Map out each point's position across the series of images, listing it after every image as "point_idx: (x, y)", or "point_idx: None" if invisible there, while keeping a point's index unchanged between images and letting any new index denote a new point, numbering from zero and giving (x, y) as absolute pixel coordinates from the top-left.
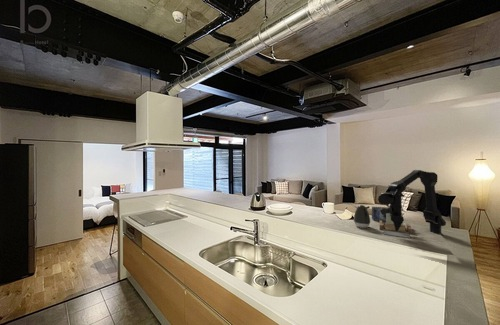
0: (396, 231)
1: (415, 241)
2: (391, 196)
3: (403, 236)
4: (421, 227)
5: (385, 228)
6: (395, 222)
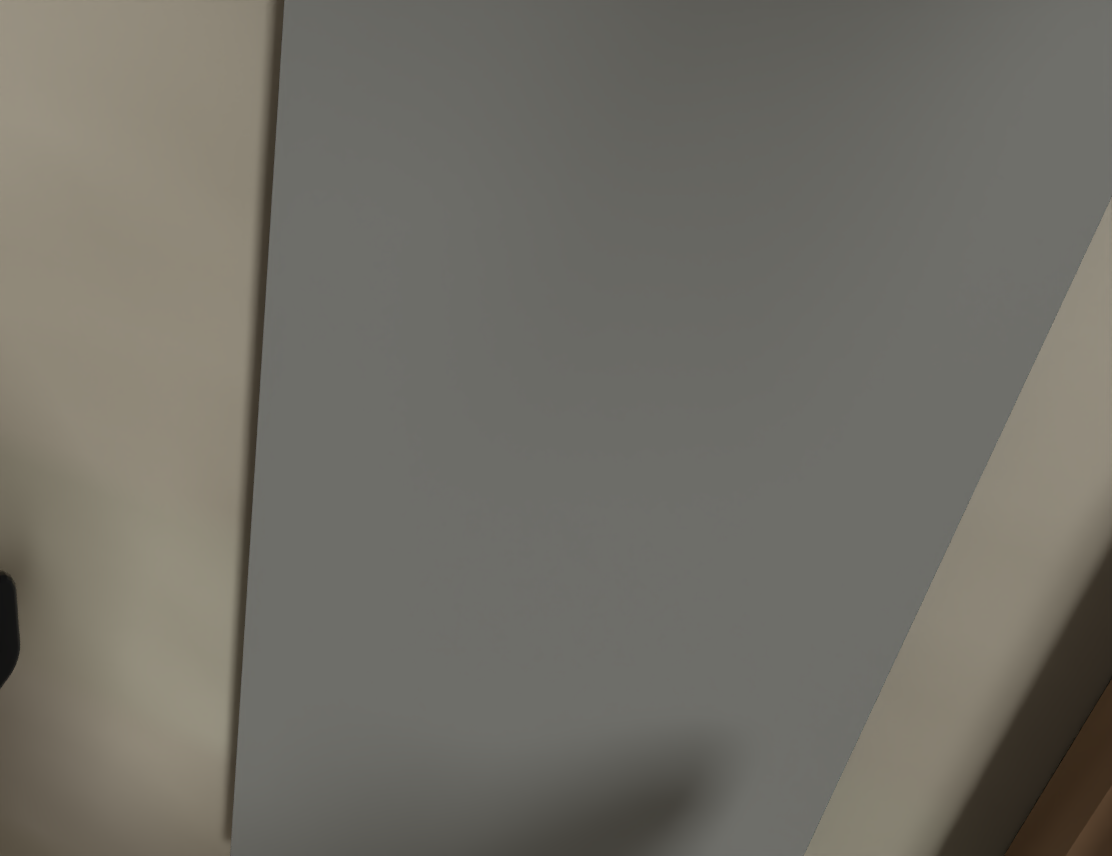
0: (1088, 769)
1: (16, 825)
2: None
3: (250, 697)
4: None
5: None
6: None
